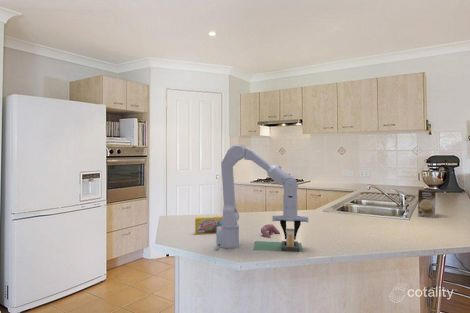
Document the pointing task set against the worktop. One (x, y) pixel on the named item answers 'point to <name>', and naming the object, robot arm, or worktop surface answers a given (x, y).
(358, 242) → the worktop surface
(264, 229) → the pink toy figure
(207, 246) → the worktop surface
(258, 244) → the circuit board
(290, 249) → the frame
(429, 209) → the coffee box
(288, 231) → the plug
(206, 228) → the candy box
